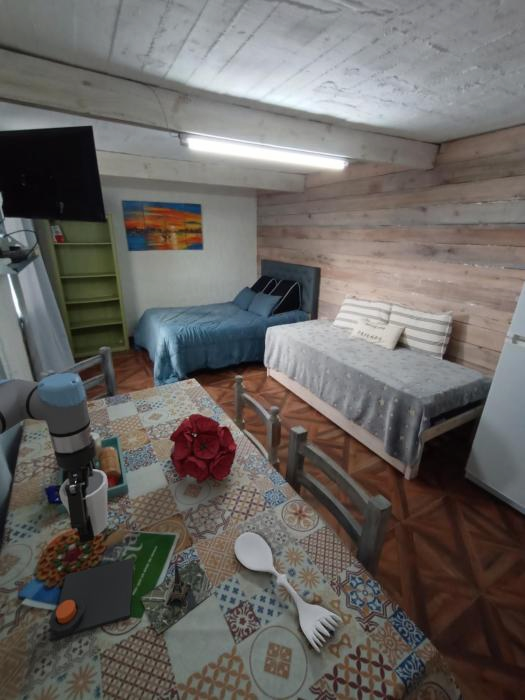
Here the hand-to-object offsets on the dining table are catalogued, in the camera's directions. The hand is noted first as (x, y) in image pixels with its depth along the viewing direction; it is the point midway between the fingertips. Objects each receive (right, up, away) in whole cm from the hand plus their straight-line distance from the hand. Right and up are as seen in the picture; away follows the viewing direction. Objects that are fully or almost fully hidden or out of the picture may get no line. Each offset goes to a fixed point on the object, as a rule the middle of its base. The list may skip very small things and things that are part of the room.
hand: (91, 521), depth 75 cm
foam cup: (0, -2, +1) cm, 2 cm away
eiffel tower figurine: (+20, -19, +2) cm, 28 cm away
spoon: (+45, -19, +4) cm, 49 cm away
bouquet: (+18, -4, +41) cm, 45 cm away
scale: (+1, -19, +1) cm, 19 cm away
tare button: (-3, -18, -5) cm, 19 cm away
